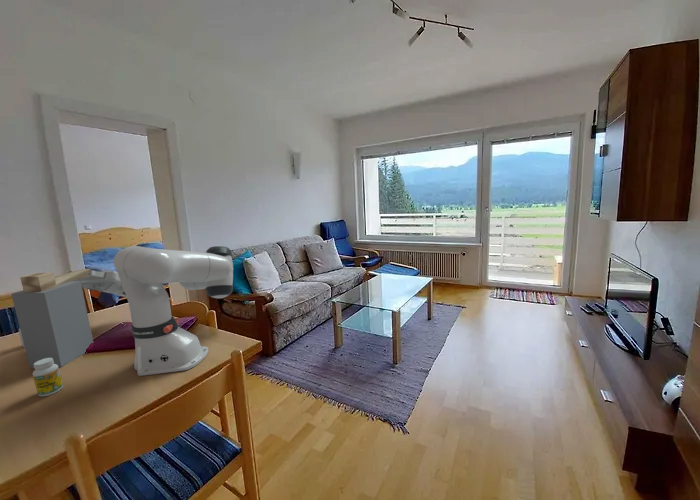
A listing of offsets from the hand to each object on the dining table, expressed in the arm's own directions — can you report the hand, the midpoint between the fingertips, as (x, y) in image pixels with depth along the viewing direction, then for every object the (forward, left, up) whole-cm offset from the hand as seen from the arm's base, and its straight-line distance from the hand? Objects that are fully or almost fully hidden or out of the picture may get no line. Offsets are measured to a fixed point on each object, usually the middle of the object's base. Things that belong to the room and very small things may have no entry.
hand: (79, 272), depth 116 cm
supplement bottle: (-15, +32, -28) cm, 45 cm away
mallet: (0, +7, -2) cm, 7 cm away
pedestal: (0, +12, -28) cm, 30 cm away
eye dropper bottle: (+23, +2, -28) cm, 36 cm away
